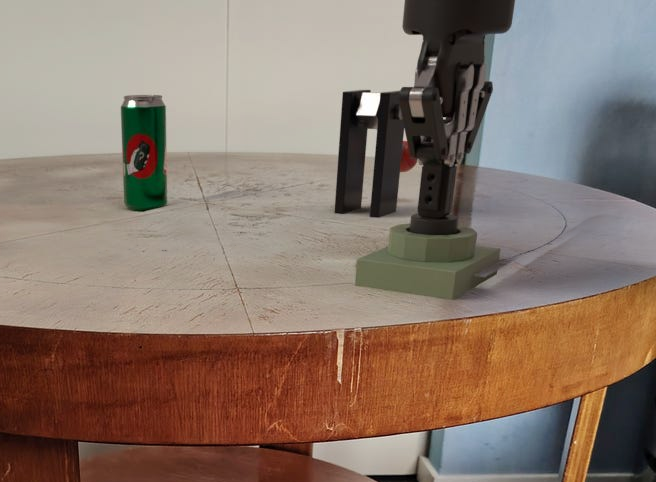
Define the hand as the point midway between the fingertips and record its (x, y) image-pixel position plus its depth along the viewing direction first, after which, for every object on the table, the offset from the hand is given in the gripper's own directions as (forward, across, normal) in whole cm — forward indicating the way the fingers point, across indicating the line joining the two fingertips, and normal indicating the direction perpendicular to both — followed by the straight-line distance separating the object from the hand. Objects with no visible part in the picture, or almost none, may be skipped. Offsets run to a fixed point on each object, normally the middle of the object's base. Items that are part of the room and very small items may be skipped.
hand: (433, 216), depth 70 cm
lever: (-2, +24, +15) cm, 28 cm away
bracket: (+5, +20, +15) cm, 26 cm away
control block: (+5, 0, 0) cm, 5 cm away
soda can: (+5, +16, +41) cm, 44 cm away
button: (+2, 0, 0) cm, 2 cm away
